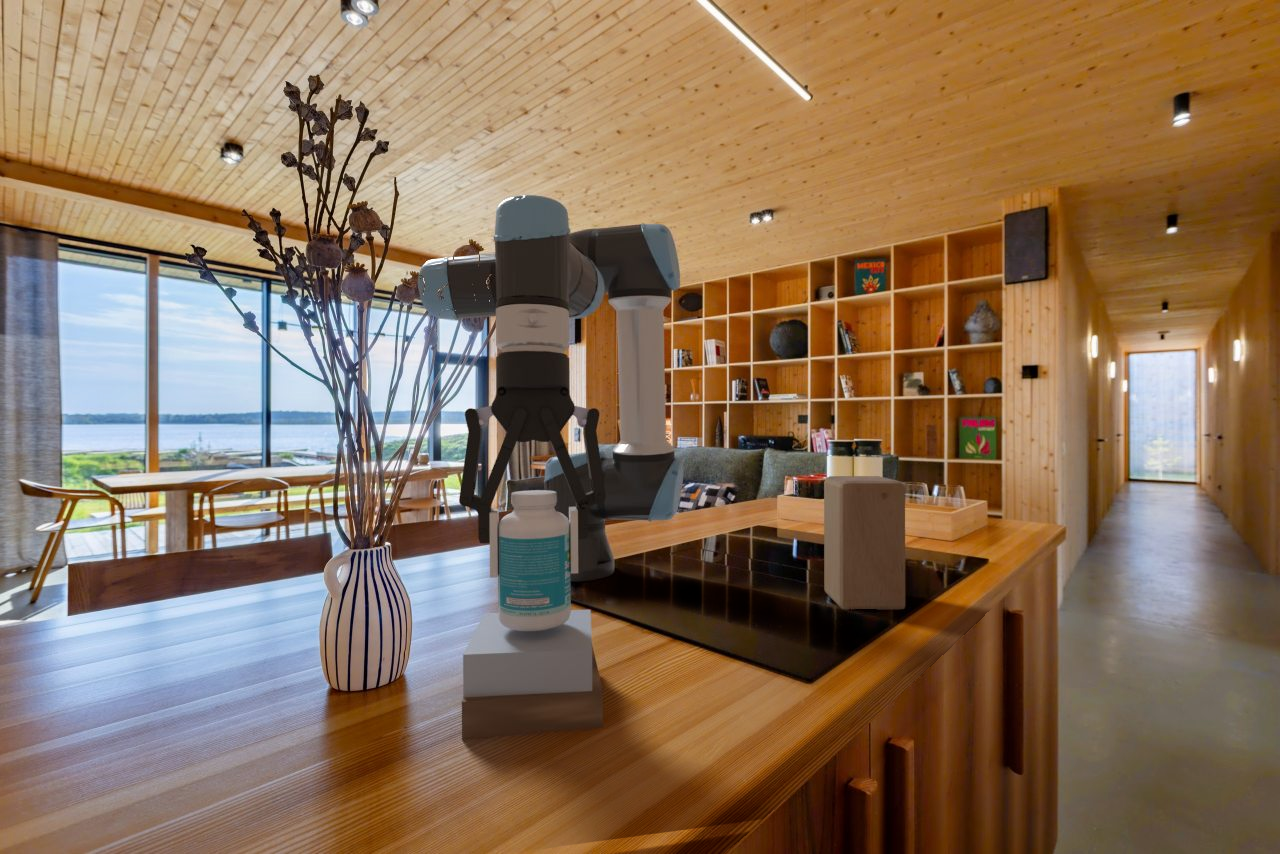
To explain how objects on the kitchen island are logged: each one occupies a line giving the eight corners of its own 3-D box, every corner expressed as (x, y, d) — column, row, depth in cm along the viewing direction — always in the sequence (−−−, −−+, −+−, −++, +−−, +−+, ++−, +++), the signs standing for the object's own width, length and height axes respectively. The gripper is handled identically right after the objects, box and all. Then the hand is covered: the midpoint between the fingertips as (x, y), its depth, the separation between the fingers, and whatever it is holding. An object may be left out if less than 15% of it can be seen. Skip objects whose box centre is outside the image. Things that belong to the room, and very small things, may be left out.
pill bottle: (582, 626, 60) (581, 493, 60) (510, 639, 56) (510, 498, 56) (555, 606, 66) (554, 486, 66) (489, 617, 63) (489, 490, 62)
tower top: (484, 648, 67) (484, 613, 67) (590, 644, 68) (590, 609, 68) (463, 697, 55) (463, 654, 55) (592, 691, 56) (592, 649, 56)
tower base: (477, 683, 67) (477, 648, 67) (591, 674, 69) (591, 640, 69) (461, 745, 54) (461, 701, 54) (603, 732, 56) (602, 690, 56)
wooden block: (907, 613, 89) (907, 481, 89) (841, 612, 89) (841, 481, 89) (882, 593, 99) (882, 475, 99) (822, 593, 99) (822, 475, 99)
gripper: (424, 346, 55) (426, 587, 56) (635, 349, 59) (636, 576, 59) (436, 355, 63) (438, 568, 63) (624, 357, 66) (625, 559, 67)
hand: (534, 571), depth 61 cm, fingers closed on pill bottle, 7 cm apart
